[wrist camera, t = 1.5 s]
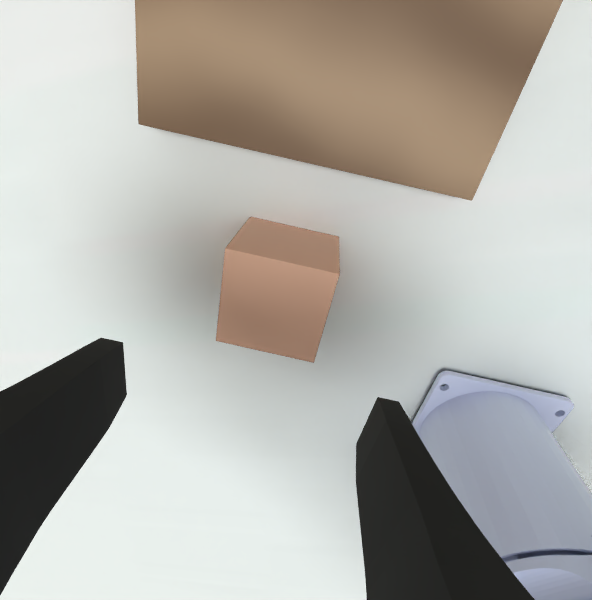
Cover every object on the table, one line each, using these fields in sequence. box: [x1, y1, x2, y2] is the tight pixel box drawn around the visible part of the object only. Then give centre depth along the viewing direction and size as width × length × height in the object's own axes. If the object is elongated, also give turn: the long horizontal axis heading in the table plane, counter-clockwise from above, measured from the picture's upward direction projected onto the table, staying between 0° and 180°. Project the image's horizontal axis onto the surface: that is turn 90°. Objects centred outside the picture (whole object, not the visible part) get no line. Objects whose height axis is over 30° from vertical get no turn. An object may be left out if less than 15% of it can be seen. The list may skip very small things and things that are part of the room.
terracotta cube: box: [216, 217, 340, 363], centre depth 16 cm, size 4×4×4 cm
